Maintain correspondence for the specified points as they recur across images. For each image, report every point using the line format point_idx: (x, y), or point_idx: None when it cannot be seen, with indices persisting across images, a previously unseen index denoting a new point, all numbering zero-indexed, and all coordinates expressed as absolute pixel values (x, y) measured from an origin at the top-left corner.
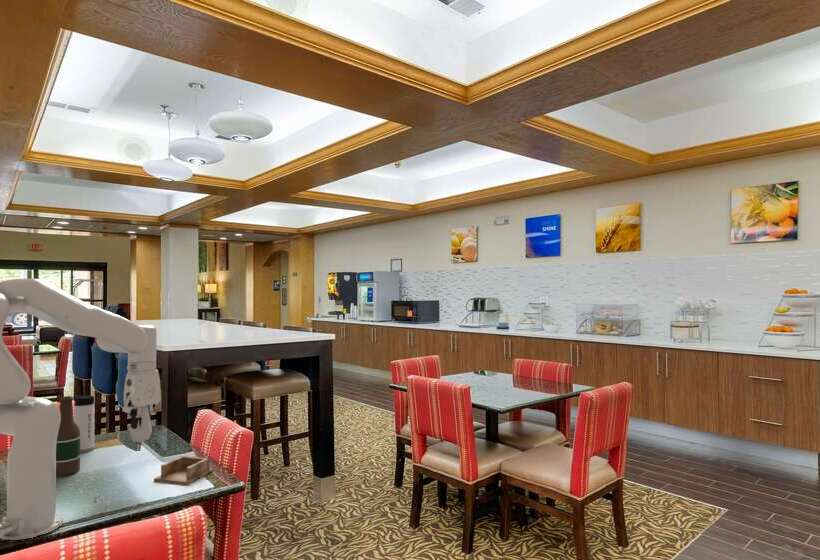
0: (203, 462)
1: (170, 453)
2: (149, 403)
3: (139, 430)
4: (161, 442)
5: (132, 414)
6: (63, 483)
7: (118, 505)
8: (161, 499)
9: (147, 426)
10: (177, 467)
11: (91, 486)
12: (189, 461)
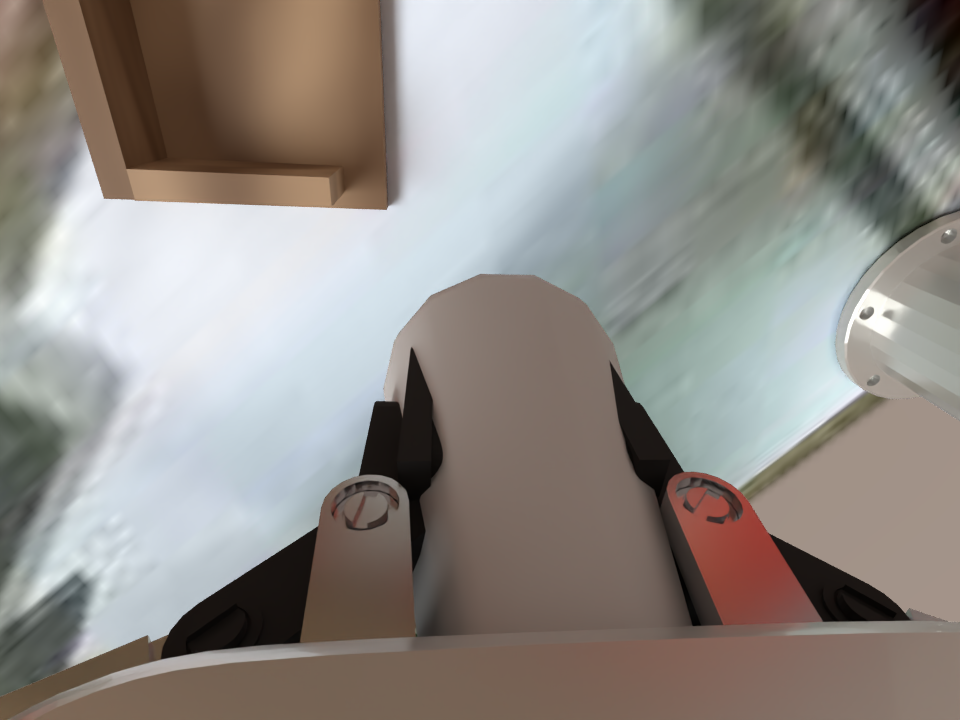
0: None
1: (5, 431)
2: (648, 672)
3: (612, 352)
4: None
5: (821, 568)
6: None
7: (719, 142)
8: None
9: (538, 323)
10: (210, 163)
11: None
12: (122, 93)
